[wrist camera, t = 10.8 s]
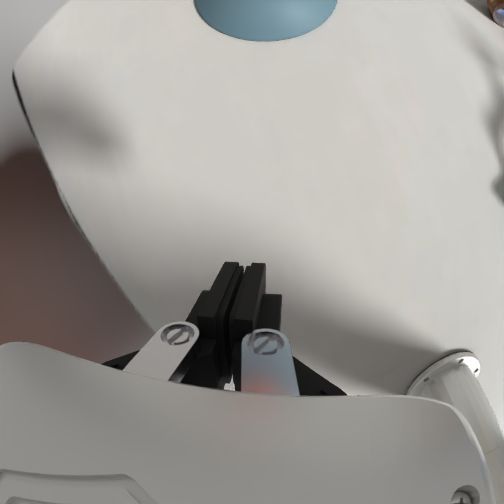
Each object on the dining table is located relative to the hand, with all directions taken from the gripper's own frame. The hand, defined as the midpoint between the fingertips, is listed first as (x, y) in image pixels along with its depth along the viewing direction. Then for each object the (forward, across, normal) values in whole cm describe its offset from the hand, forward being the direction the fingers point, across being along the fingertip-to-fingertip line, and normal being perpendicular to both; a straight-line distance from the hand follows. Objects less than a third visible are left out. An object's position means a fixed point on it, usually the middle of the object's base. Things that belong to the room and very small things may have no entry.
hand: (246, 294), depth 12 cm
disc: (+13, 0, -22) cm, 26 cm away
